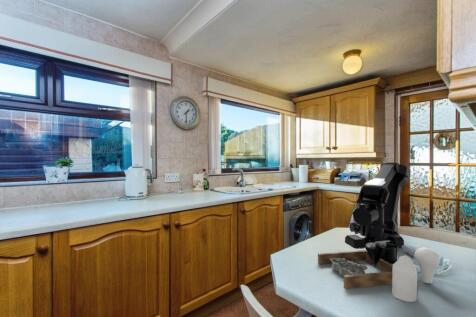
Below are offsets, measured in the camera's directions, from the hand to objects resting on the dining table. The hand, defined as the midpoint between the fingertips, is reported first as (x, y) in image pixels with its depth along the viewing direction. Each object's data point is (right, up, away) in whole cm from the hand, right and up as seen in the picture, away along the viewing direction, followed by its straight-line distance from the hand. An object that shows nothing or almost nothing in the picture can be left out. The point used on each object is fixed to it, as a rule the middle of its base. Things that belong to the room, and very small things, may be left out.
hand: (373, 264), depth 80 cm
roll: (0, -2, -15) cm, 15 cm away
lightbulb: (+12, -2, -8) cm, 14 cm away
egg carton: (-10, -3, -1) cm, 10 cm away
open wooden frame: (-6, -2, -1) cm, 7 cm away
